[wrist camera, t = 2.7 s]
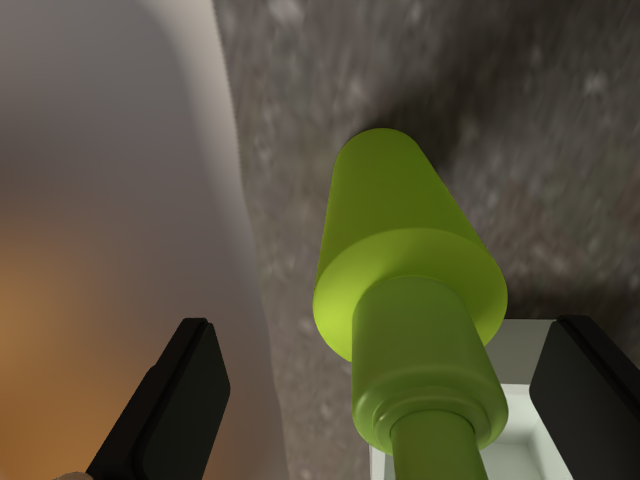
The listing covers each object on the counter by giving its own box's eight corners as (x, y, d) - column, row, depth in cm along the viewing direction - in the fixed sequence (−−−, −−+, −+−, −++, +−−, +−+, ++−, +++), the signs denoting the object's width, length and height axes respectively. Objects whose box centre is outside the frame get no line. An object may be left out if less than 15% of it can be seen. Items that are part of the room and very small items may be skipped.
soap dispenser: (305, 149, 21) (105, 579, 4) (416, 114, 20) (849, 574, 3) (333, 228, 24) (282, 697, 7) (432, 203, 22) (701, 728, 5)
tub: (369, 317, 28) (373, 380, 23) (579, 319, 26) (636, 387, 21) (368, 433, 36) (371, 500, 30) (530, 440, 34) (562, 512, 29)
